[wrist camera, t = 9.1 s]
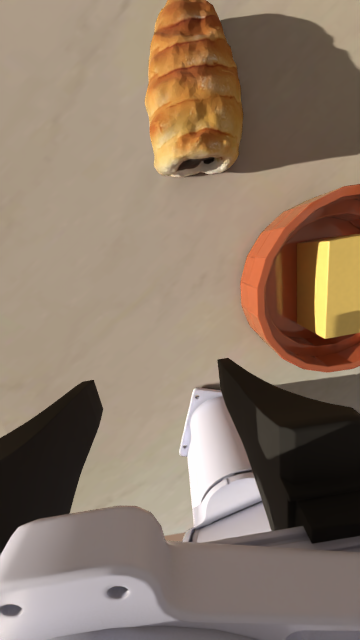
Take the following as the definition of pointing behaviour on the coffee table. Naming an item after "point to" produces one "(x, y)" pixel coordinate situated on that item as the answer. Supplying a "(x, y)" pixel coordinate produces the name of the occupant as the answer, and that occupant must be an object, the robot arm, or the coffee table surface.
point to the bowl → (281, 281)
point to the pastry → (192, 92)
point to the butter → (329, 285)
